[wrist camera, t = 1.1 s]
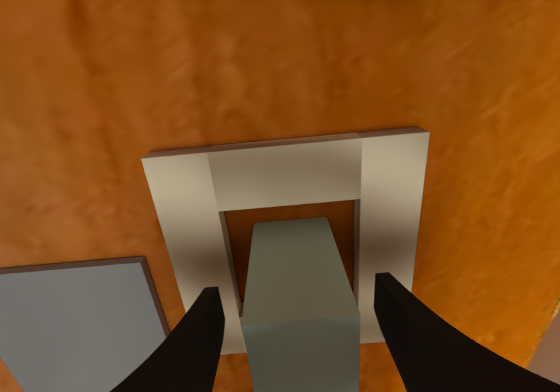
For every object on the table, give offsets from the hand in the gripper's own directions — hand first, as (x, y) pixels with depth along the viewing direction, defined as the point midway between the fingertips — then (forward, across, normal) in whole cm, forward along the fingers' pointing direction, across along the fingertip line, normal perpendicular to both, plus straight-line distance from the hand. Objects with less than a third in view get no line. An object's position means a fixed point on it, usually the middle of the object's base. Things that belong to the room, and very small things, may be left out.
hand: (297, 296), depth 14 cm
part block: (+4, 0, 0) cm, 4 cm away
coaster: (+4, +14, +5) cm, 15 cm away
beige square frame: (+4, 0, 0) cm, 4 cm away
